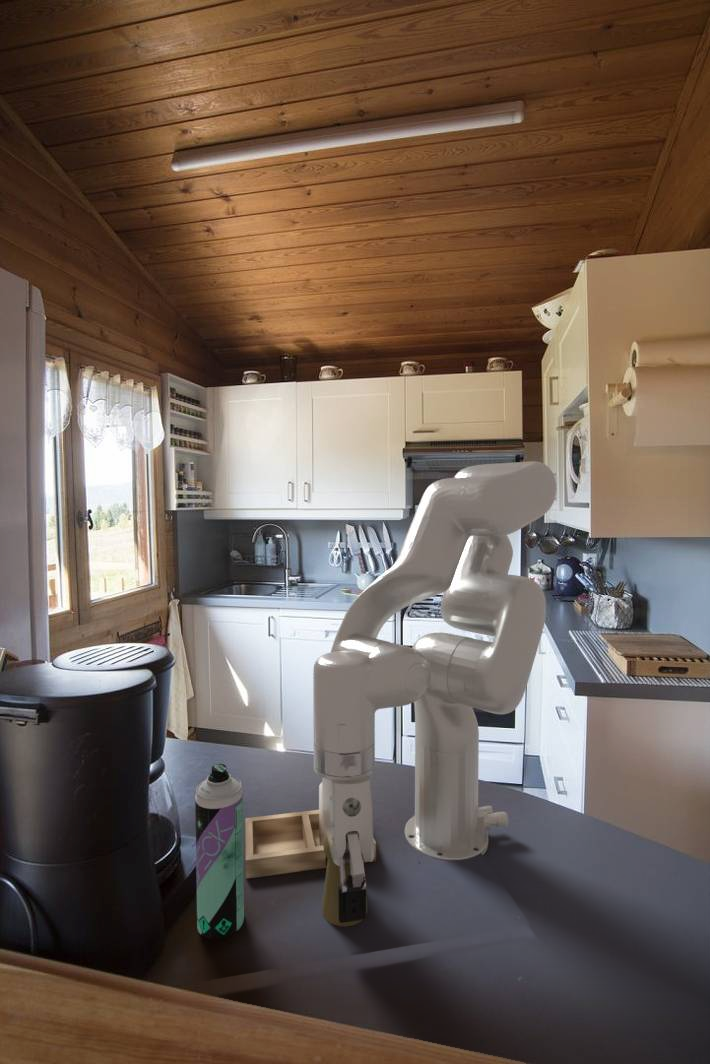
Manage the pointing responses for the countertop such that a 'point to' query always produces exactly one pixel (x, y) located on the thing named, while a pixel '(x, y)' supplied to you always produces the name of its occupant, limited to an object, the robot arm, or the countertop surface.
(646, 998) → the countertop surface
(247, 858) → the caddy
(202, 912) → the spray can
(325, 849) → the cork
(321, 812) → the salt shaker
